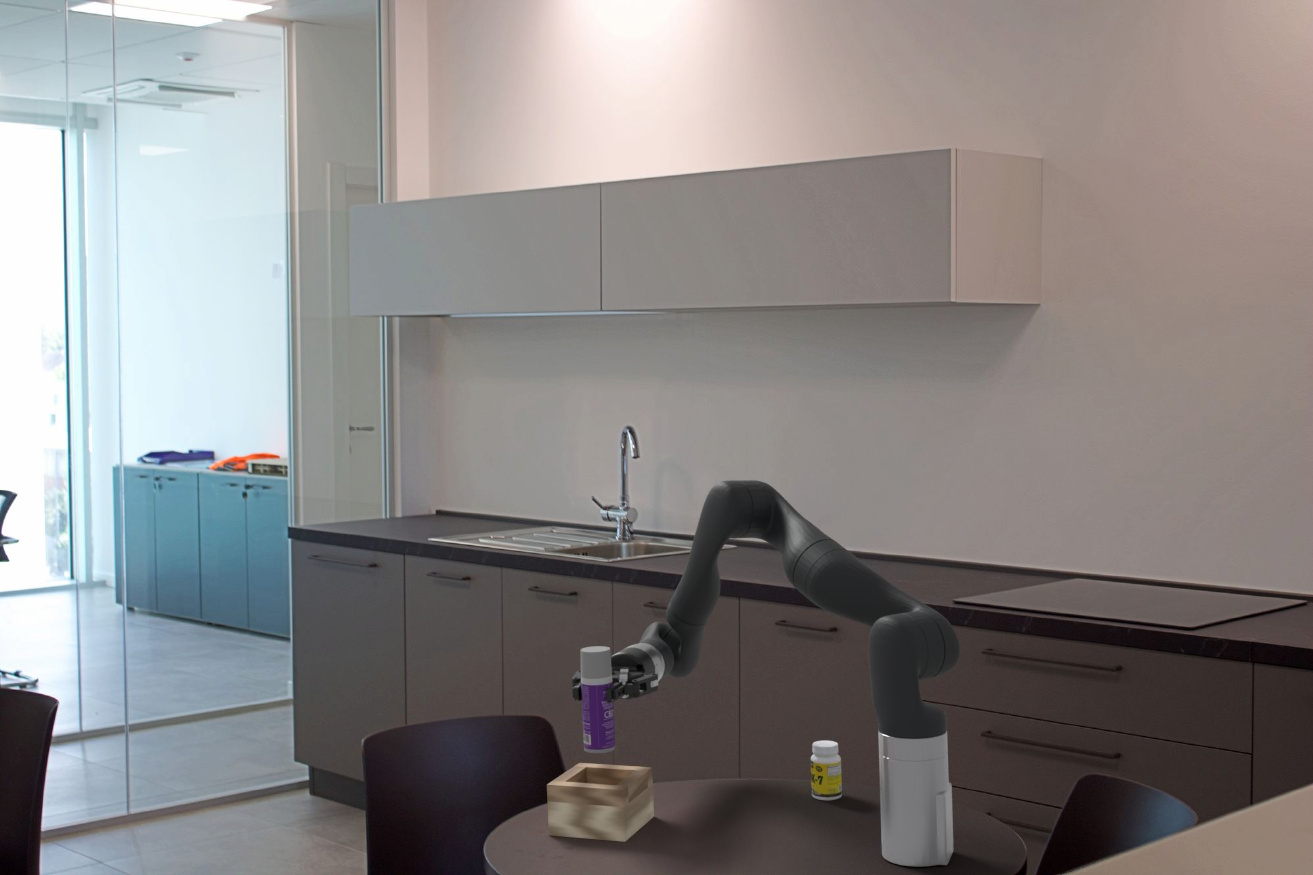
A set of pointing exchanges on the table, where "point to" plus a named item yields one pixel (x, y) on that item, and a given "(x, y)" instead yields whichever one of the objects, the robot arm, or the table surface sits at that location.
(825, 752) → the supplement bottle
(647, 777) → the wooden open tray
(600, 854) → the table surface
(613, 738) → the container
